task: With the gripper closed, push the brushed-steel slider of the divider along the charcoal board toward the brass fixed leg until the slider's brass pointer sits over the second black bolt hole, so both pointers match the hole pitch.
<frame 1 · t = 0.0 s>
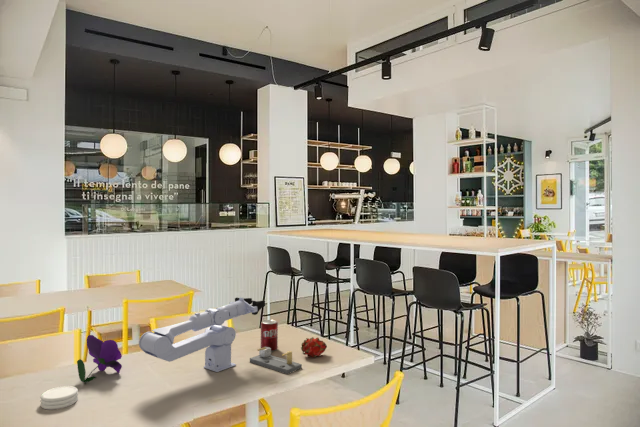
hand: (257, 301, 184), 22 cm above the table, tool horizontal, fingers open, 7 cm apart
flower: (97, 378, 156), on the table
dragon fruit: (314, 356, 182), on the table
coaster: (59, 403, 136), on the table
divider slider: (263, 352, 175), point 3 cm above the table, slide at 0.0 cm
soda can: (269, 350, 190), on the table
pitch board: (275, 365, 171), on the table
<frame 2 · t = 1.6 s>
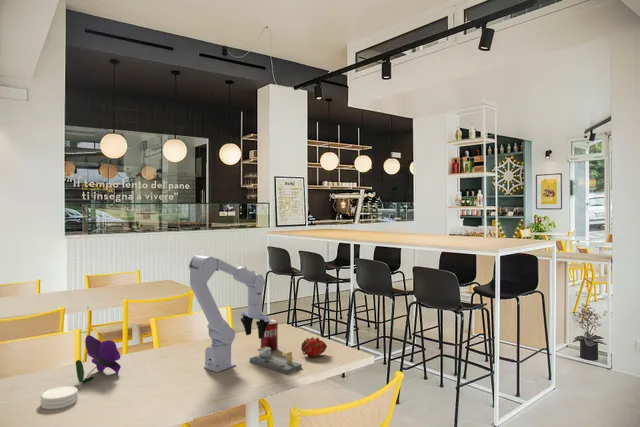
hand: (254, 336, 180), 8 cm above the table, tool pointing down, fingers open, 7 cm apart
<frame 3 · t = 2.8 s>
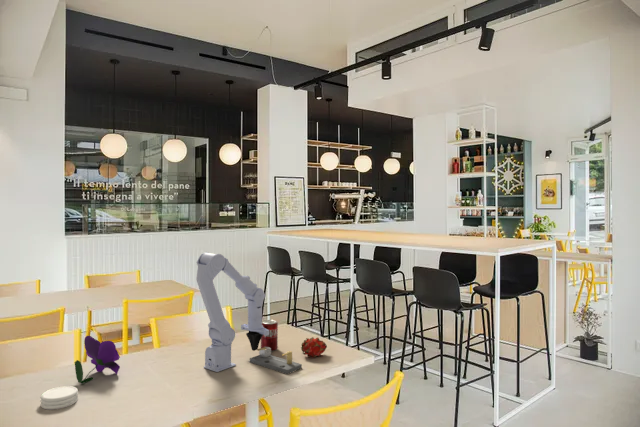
hand: (254, 349, 180), 3 cm above the table, tool pointing down, fingers closed
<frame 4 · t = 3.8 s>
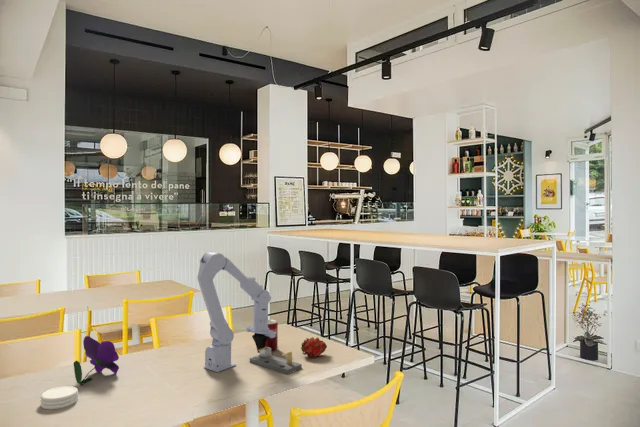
hand: (260, 352, 178), 3 cm above the table, tool pointing down, fingers closed
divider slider: (263, 352, 175), point 3 cm above the table, slide at 0.2 cm, touching gripper
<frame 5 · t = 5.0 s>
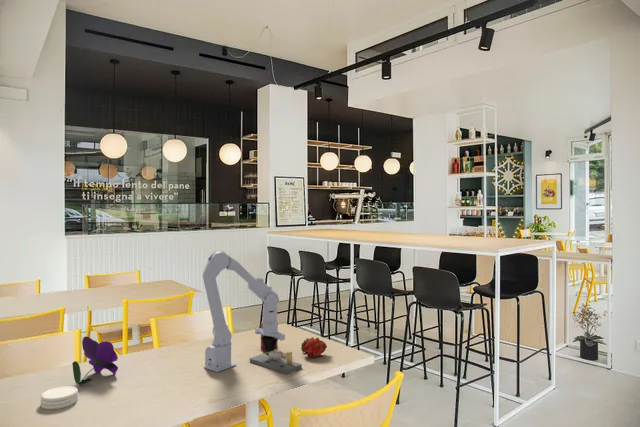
hand: (269, 354, 175), 3 cm above the table, tool pointing down, fingers closed
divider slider: (272, 354, 172), point 3 cm above the table, slide at 5.2 cm, touching gripper
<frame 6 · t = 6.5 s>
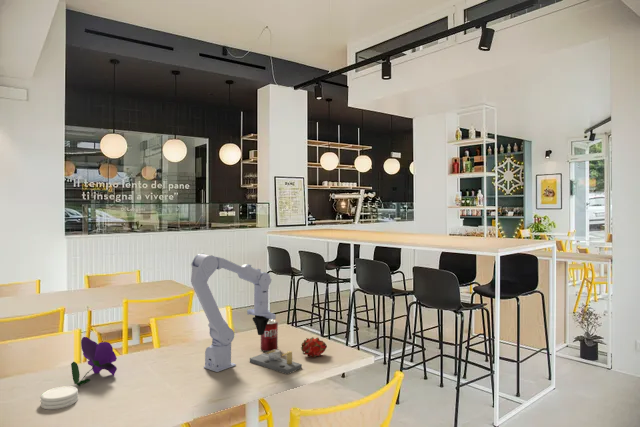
hand: (261, 334, 179), 9 cm above the table, tool pointing down, fingers closed
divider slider: (272, 354, 172), point 3 cm above the table, slide at 5.2 cm
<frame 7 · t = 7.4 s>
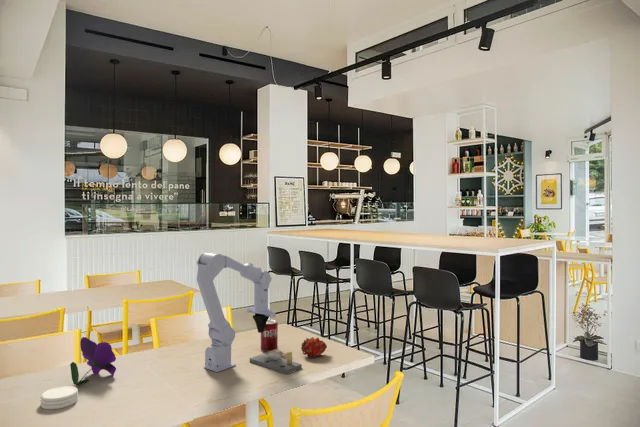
hand: (260, 332, 183), 9 cm above the table, tool pointing down, fingers closed
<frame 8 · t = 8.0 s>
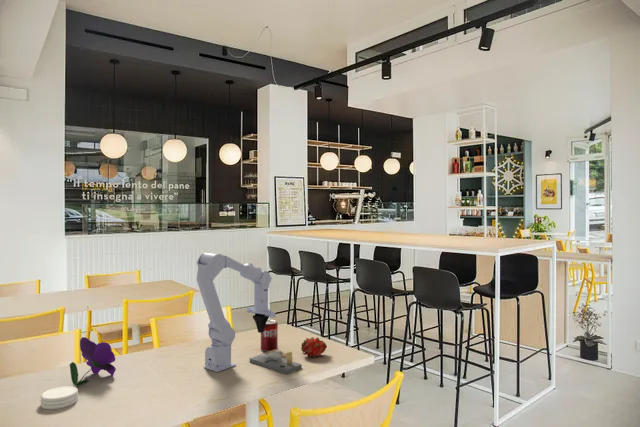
hand: (260, 332, 183), 9 cm above the table, tool pointing down, fingers closed
at the end: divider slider slide at 5.2 cm; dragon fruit moved 0.3 cm from its start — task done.
